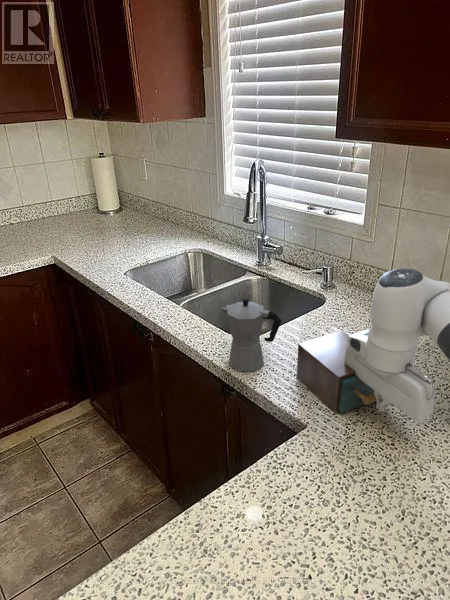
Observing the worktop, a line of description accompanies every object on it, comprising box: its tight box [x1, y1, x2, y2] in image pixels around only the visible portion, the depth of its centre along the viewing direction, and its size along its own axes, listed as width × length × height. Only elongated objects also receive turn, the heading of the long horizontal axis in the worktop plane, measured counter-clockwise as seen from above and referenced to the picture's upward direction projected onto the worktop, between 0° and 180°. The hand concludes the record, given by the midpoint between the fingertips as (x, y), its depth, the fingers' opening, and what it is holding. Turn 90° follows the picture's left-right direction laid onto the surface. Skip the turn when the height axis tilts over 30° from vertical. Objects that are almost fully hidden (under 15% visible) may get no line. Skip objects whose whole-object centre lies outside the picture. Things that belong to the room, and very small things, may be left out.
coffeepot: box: [219, 297, 282, 373], centre depth 109 cm, size 15×9×18 cm, turn 67°
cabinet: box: [296, 330, 355, 415], centre depth 101 cm, size 15×13×10 cm
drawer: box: [338, 375, 377, 414], centre depth 98 cm, size 18×11×8 cm, turn 26°
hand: (381, 409), depth 91 cm, fingers closed, pressing on drawer
